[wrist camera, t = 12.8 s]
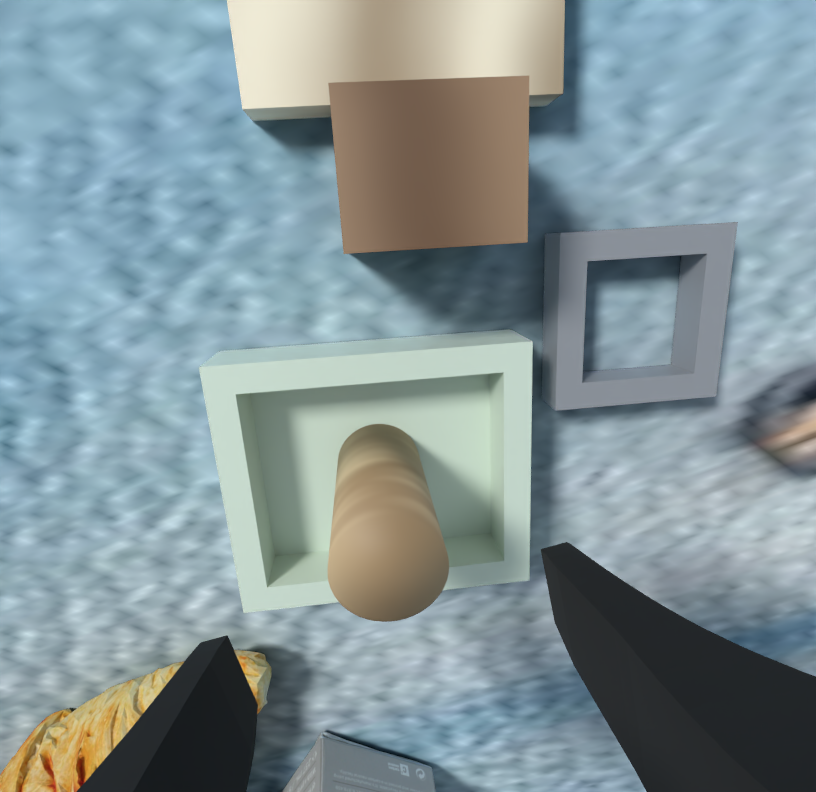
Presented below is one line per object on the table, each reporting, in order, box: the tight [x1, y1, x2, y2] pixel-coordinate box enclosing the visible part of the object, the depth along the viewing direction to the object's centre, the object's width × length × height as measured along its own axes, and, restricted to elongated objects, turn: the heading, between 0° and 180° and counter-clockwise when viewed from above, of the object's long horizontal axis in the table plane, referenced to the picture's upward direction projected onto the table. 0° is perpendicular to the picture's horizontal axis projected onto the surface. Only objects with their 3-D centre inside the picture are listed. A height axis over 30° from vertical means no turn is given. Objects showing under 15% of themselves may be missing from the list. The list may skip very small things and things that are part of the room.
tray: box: [199, 329, 533, 613], centre depth 19 cm, size 11×10×3 cm
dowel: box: [328, 424, 449, 622], centre depth 17 cm, size 3×3×7 cm
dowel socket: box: [542, 222, 738, 411], centre depth 19 cm, size 6×6×2 cm
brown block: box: [328, 76, 529, 254], centre depth 15 cm, size 5×4×5 cm
